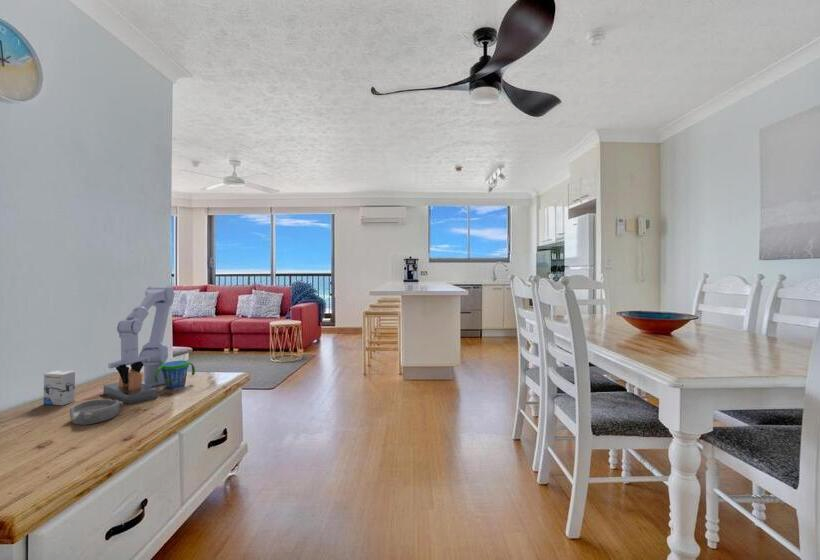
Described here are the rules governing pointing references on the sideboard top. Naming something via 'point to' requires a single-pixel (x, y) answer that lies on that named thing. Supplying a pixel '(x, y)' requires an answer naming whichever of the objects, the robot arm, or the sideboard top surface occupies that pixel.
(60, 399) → the ink box
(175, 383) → the snack cup
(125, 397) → the grey slotted block
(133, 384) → the tan rectangular block
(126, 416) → the sideboard top surface
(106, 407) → the dish
